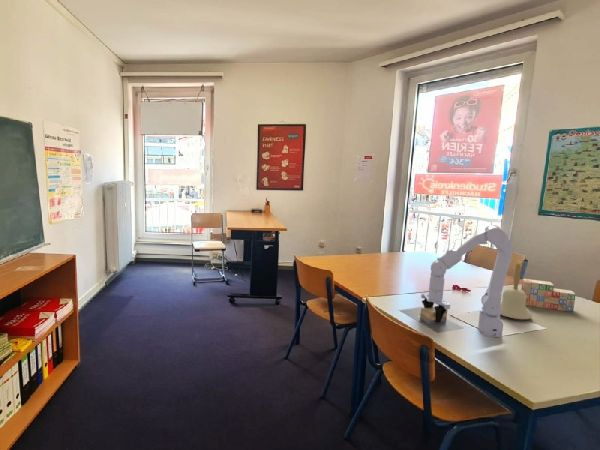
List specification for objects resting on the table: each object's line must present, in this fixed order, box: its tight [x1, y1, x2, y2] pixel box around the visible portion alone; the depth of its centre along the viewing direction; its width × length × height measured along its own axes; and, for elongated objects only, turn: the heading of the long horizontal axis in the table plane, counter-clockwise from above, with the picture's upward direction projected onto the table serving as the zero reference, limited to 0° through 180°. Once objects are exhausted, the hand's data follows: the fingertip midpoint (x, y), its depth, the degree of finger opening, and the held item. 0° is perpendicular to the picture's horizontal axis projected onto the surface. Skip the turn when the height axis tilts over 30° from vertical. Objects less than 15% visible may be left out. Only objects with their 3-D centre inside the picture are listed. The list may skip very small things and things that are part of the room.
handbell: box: [500, 263, 533, 320], centre depth 158 cm, size 15×15×25 cm
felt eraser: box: [420, 306, 448, 324], centre depth 148 cm, size 10×5×5 cm, turn 113°
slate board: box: [398, 306, 464, 334], centre depth 150 cm, size 24×14×1 cm, turn 23°
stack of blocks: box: [520, 278, 577, 313], centre depth 173 cm, size 21×6×12 cm, turn 64°
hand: (433, 319), depth 148 cm, fingers closed on felt eraser, 5 cm apart
